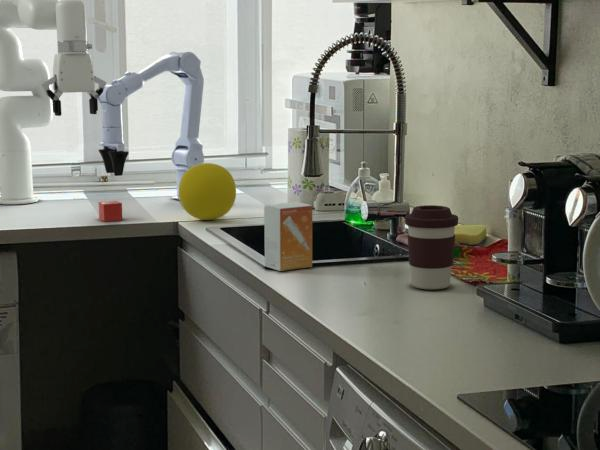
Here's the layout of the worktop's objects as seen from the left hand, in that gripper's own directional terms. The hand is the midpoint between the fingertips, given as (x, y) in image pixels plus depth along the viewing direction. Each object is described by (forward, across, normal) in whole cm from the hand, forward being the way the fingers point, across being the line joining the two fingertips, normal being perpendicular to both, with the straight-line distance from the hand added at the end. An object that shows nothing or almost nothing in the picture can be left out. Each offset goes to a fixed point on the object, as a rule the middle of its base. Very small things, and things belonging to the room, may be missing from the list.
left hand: (75, 114), depth 273 cm
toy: (+28, -28, +18) cm, 44 cm away
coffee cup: (+30, -26, +113) cm, 120 cm away
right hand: (+18, -18, -19) cm, 32 cm away
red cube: (+28, -8, +2) cm, 29 cm away
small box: (+29, -13, +83) cm, 89 cm away
